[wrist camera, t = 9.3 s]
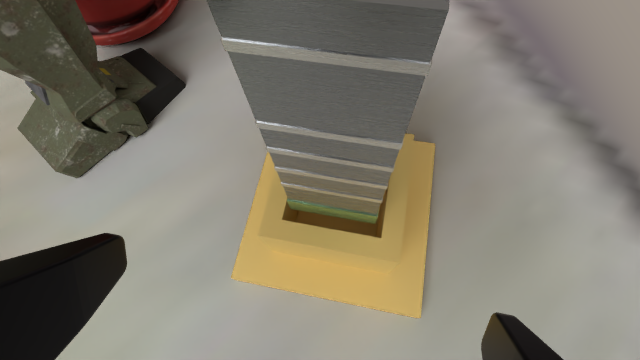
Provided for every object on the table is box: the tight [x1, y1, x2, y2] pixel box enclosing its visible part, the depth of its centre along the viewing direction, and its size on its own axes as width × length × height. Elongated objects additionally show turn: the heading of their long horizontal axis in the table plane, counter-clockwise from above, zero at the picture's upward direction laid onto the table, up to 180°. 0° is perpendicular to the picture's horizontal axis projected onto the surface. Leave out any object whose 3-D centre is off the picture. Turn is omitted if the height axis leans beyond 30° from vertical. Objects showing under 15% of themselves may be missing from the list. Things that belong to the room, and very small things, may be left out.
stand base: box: [231, 133, 435, 318], centre depth 20 cm, size 11×11×5 cm
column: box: [207, 0, 449, 224], centre depth 12 cm, size 4×4×12 cm
